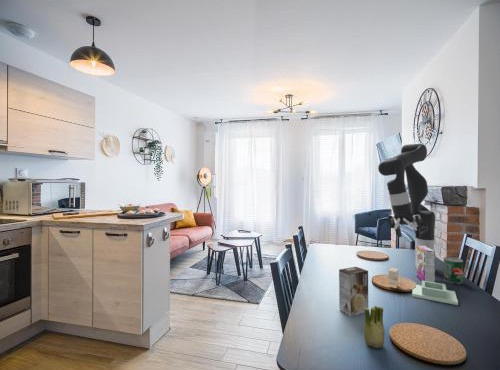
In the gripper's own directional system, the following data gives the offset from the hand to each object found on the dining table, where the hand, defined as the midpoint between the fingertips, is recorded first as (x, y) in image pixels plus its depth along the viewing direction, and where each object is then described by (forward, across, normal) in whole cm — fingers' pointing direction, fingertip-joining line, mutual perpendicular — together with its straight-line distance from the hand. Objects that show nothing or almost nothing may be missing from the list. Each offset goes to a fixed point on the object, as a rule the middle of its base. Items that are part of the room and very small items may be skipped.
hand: (408, 237), depth 123 cm
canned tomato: (+32, +1, -28) cm, 43 cm away
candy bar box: (+29, +8, -17) cm, 35 cm away
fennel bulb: (+16, -15, +53) cm, 57 cm away
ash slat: (+24, +11, +4) cm, 26 cm away
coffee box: (+17, +3, +40) cm, 44 cm away
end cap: (+27, -4, -1) cm, 27 cm away
